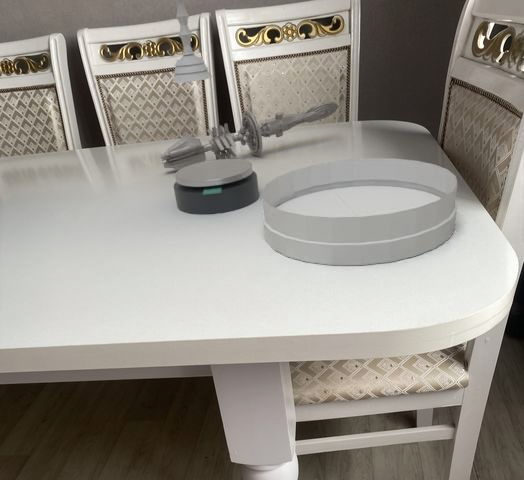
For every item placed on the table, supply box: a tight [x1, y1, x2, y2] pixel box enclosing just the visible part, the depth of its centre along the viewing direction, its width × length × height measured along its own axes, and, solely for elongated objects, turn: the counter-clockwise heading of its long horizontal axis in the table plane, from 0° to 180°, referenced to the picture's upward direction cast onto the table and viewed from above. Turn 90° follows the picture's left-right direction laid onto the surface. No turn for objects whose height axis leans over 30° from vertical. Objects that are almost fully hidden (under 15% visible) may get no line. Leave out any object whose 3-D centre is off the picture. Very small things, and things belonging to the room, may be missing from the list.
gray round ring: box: [261, 157, 458, 266], centre depth 61 cm, size 22×22×5 cm
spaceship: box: [159, 101, 339, 170], centre depth 95 cm, size 8×35×8 cm
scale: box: [172, 170, 260, 216], centre depth 75 cm, size 12×12×3 cm
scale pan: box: [174, 158, 254, 187], centre depth 74 cm, size 11×11×1 cm
